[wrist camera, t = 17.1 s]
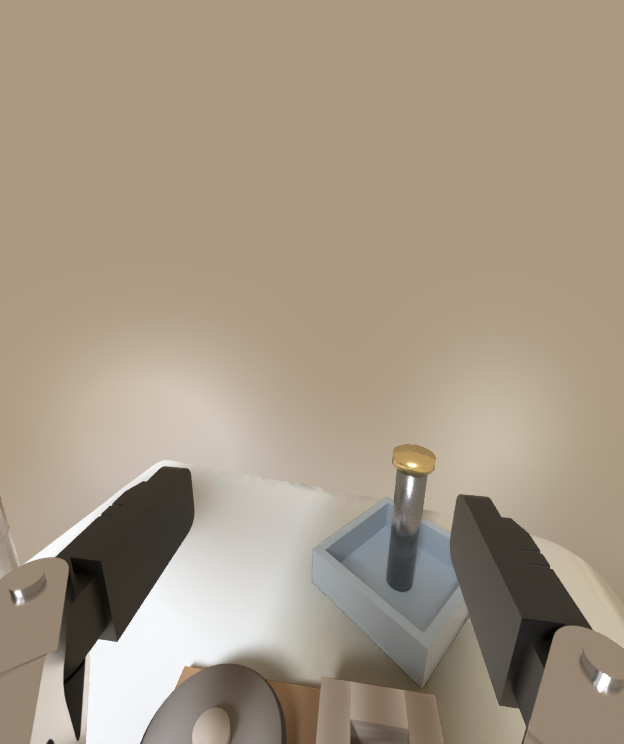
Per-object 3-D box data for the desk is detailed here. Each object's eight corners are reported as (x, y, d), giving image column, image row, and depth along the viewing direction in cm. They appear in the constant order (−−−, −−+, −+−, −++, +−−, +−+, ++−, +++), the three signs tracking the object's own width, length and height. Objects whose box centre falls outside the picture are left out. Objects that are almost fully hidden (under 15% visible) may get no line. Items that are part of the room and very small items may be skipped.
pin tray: (312, 581, 41) (312, 549, 40) (383, 524, 51) (386, 496, 50) (421, 688, 31) (428, 649, 29) (485, 590, 41) (492, 557, 39)
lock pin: (373, 579, 41) (385, 453, 36) (394, 559, 44) (407, 440, 39) (405, 604, 38) (422, 470, 33) (424, 581, 41) (443, 455, 36)
